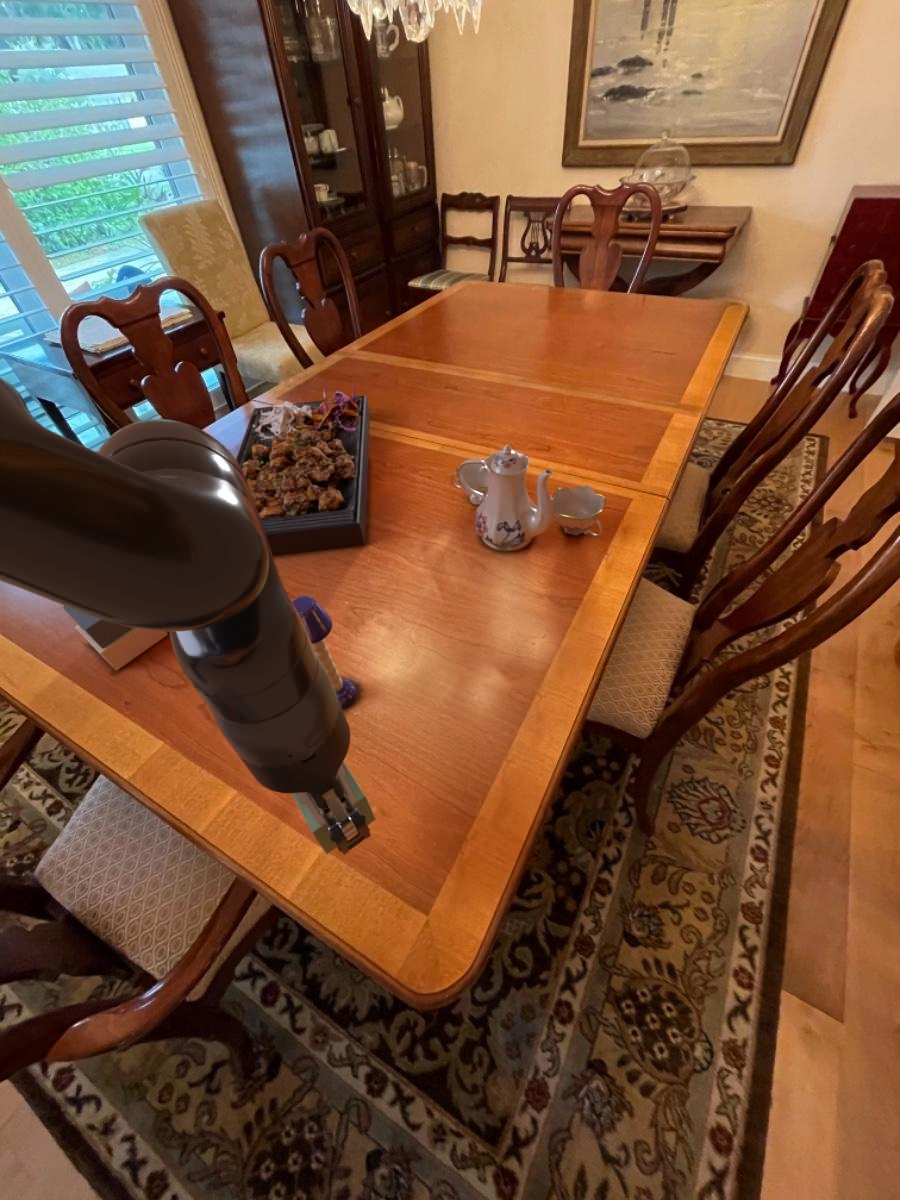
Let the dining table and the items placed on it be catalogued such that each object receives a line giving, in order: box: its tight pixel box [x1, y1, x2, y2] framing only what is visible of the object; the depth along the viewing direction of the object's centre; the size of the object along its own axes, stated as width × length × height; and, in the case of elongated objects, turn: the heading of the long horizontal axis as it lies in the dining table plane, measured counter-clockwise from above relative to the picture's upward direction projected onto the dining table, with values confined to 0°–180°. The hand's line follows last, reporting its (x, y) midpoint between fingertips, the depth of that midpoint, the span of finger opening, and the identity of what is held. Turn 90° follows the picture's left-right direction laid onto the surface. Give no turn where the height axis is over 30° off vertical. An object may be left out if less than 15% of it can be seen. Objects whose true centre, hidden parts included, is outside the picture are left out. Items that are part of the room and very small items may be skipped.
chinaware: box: [450, 444, 607, 553], centre depth 83 cm, size 28×17×17 cm, turn 62°
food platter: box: [235, 382, 371, 557], centre depth 100 cm, size 45×25×10 cm, turn 5°
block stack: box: [62, 605, 168, 671], centre depth 75 cm, size 8×8×8 cm
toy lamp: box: [291, 595, 357, 709], centre depth 62 cm, size 5×5×17 cm
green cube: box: [290, 760, 377, 855], centre depth 47 cm, size 5×5×5 cm
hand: (338, 812), depth 49 cm, fingers closed on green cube, 5 cm apart
